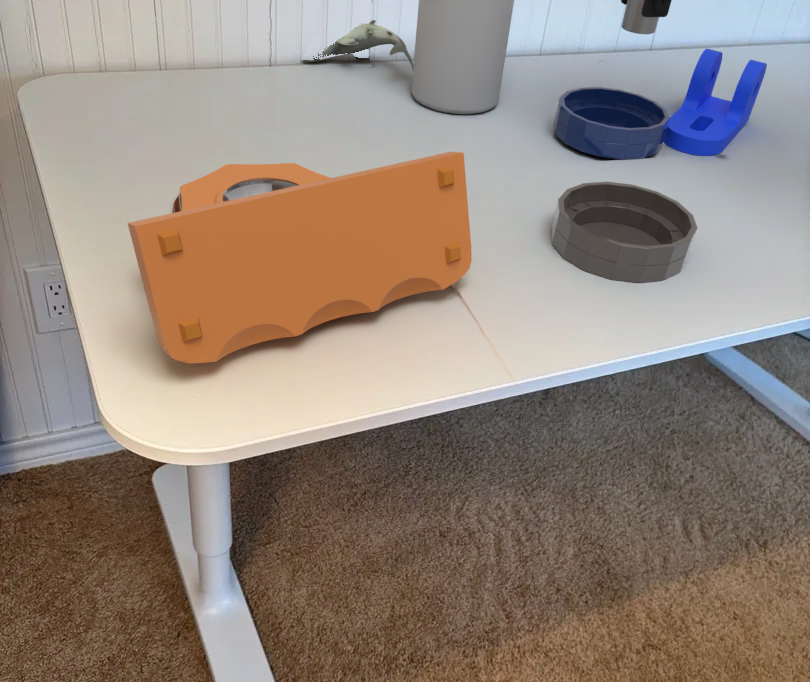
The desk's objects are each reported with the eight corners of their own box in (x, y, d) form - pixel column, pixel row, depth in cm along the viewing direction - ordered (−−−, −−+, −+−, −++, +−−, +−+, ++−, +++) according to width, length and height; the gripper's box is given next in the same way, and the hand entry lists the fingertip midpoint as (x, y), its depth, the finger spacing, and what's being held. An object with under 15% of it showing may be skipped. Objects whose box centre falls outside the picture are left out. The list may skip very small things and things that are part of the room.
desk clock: (466, 146, 73) (351, 137, 89) (135, 219, 59) (68, 193, 75) (477, 280, 78) (366, 250, 94) (175, 376, 64) (104, 322, 80)
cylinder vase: (393, 92, 118) (407, -112, 102) (457, 77, 125) (480, -117, 108) (451, 123, 111) (476, -91, 95) (516, 106, 118) (550, -97, 101)
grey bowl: (641, 214, 96) (651, 178, 93) (709, 280, 86) (723, 241, 83) (529, 223, 92) (536, 186, 89) (587, 293, 82) (597, 253, 79)
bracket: (692, 106, 124) (712, 43, 118) (748, 121, 121) (770, 58, 115) (653, 143, 112) (673, 75, 106) (713, 161, 109) (737, 92, 103)
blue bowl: (626, 117, 118) (635, 85, 115) (679, 160, 108) (689, 127, 105) (536, 121, 114) (542, 88, 111) (582, 166, 104) (590, 131, 101)
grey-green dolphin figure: (296, 75, 118) (312, 117, 125) (409, 49, 116) (420, 93, 122) (297, 15, 126) (312, 57, 132) (404, -11, 123) (414, 34, 130)
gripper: (772, -167, 80) (710, 32, 92) (679, -190, 92) (635, -11, 104) (706, -171, 78) (652, 33, 90) (619, -195, 89) (582, -11, 101)
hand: (643, 8), depth 97 cm, fingers closed on shaker, 4 cm apart
